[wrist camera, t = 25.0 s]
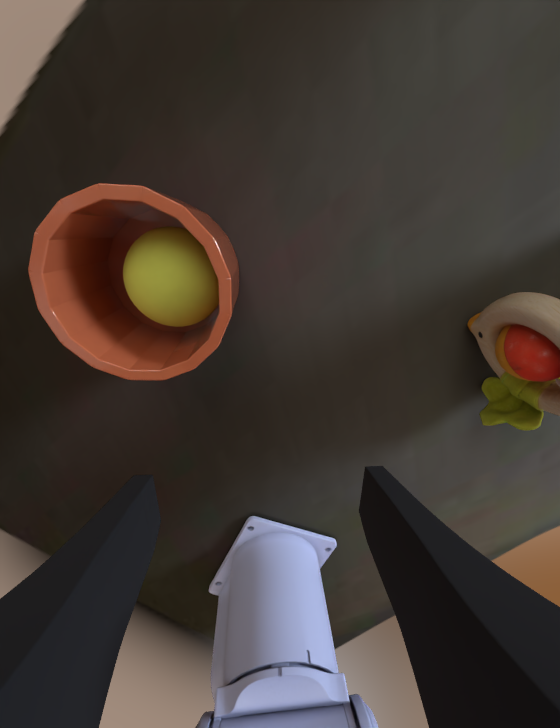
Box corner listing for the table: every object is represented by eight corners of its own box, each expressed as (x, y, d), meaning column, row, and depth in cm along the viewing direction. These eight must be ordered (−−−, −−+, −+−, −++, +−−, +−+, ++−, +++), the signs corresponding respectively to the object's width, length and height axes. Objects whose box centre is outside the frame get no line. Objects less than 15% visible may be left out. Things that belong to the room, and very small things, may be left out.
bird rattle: (416, 340, 22) (493, 446, 22) (494, 334, 12) (650, 545, 11) (497, 286, 21) (580, 396, 21) (667, 224, 10) (849, 452, 10)
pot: (212, 355, 20) (194, 404, 14) (88, 307, 18) (14, 341, 13) (259, 239, 17) (261, 243, 12) (122, 171, 16) (49, 139, 10)
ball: (194, 327, 19) (218, 348, 15) (108, 300, 16) (111, 317, 12) (221, 251, 18) (253, 254, 14) (136, 210, 16) (147, 201, 12)
